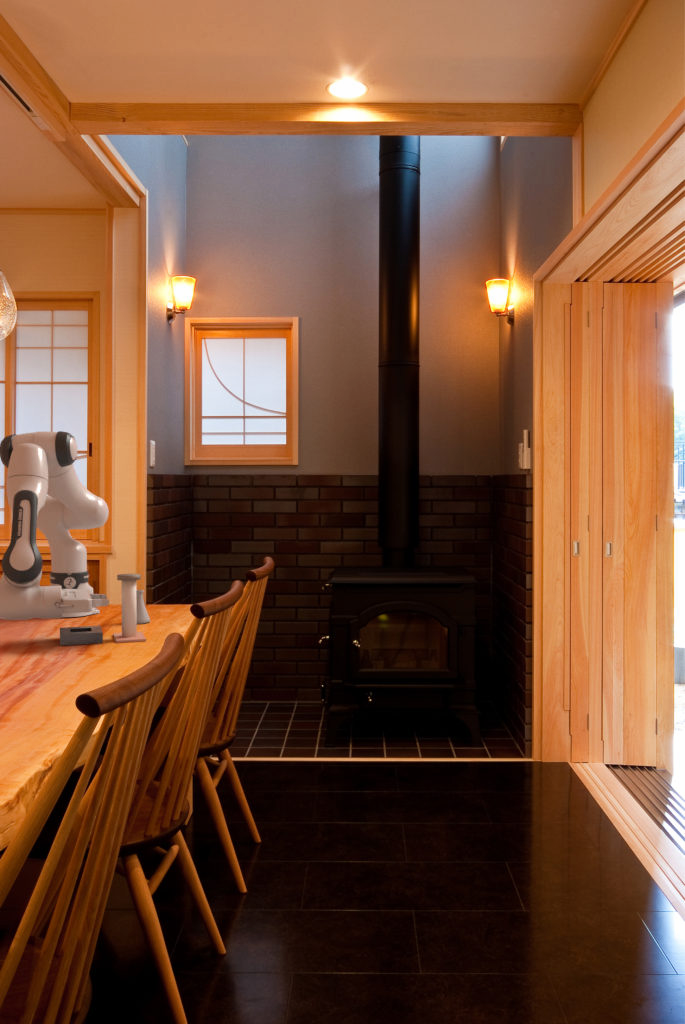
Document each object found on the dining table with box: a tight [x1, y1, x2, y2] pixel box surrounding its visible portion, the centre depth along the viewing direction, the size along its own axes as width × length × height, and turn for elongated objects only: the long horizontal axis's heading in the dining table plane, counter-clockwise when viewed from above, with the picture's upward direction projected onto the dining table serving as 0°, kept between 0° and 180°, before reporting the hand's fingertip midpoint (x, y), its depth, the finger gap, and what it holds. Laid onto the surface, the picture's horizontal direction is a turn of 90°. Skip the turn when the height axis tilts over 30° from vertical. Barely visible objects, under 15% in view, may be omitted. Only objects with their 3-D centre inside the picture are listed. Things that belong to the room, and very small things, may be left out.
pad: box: [112, 631, 147, 644], centre depth 244 cm, size 12×8×1 cm, turn 19°
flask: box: [136, 589, 151, 625], centre depth 270 cm, size 7×7×10 cm
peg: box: [116, 573, 142, 637], centre depth 243 cm, size 6×6×17 cm
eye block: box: [59, 625, 104, 647], centre depth 240 cm, size 11×11×3 cm
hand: (107, 599), depth 242 cm, fingers open, 8 cm apart
